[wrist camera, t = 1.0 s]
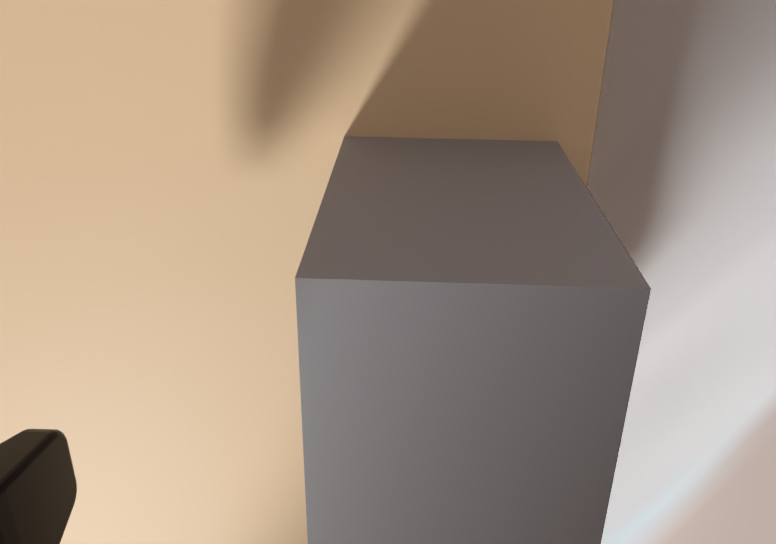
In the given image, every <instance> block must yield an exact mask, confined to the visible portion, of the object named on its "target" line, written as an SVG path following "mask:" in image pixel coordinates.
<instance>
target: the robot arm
mask: <svg viewBox="0 0 776 544" xmlns="http://www.w3.org/2000/svg"><path fill="white" fill-rule="evenodd" d="M76 494H77V482H76V477H75V473H74V468H73V464H72V459H71V455H70V451H69V446H68V442H67V439H66V436H65V435H64V433H63V432H61V431H59V430H57V429H26V430H23V431H21V432H19V433H18V434H16V435H14V436H12V437H11V438H9V439H7V440H6V441H4V442H2V443H0V544H60V542H61V539H62V537H63V534H64V531H65V528H66V526H67V523H68V520H69V518H70V515H71V512H72V509H73V507H74V504H75V500H76Z"/></svg>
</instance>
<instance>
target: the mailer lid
mask: <svg viewBox="0 0 776 544" xmlns="http://www.w3.org/2000/svg"><path fill="white" fill-rule="evenodd" d="M613 2H614V0H0V443H2V442H4V441H6V440H7V439H9V438H11V437H12V436H14V435H16V434H18V433H19V432H21V431H23V430H26V429H57V430H59V431H61V432H63V433H64V435H65V436H66V439H67V442H68V446H69V451H70V455H71V459H72V464H73V468H74V473H75V477H76V482H77V494H76V500H75V504H74V507H73V509H72V512H71V515H70V518H69V520H68V523H67V526H66V528H65V531H64V534H63V537H62V539H61V542H60V544H601V538H602V533H603V528H604V523H605V518H606V513H607V508H608V503H609V498H610V493H611V488H612V483H613V478H614V472H615V467H616V462H617V457H618V452H619V447H620V442H621V437H622V432H623V427H624V422H625V417H626V411H627V406H628V401H629V396H630V391H631V386H632V381H633V376H634V371H635V366H636V361H637V356H638V351H639V345H640V340H641V335H642V330H643V325H644V320H645V315H646V310H647V305H648V300H649V295H650V290H651V288H650V287H649V285H648V284H647V282H646V280H645V279H644V277H643V276H642V274H641V273H640V271H639V269H638V268H637V266H636V265H635V263H634V261H633V260H632V258H631V257H630V255H629V254H628V252H627V250H626V249H625V247H624V246H623V244H622V242H621V241H620V239H619V238H618V236H617V235H616V233H615V231H614V230H613V228H612V227H611V225H610V223H609V222H608V220H607V219H606V217H605V216H604V214H603V212H602V211H601V209H600V208H599V206H598V205H597V203H596V201H595V200H594V198H593V197H592V195H591V193H590V192H589V190H588V189H587V184H588V177H589V170H590V163H591V156H592V149H593V142H594V135H595V128H596V121H597V114H598V107H599V100H600V93H601V86H602V79H603V72H604V65H605V58H606V51H607V44H608V37H609V30H610V23H611V16H612V9H613Z"/></svg>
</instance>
